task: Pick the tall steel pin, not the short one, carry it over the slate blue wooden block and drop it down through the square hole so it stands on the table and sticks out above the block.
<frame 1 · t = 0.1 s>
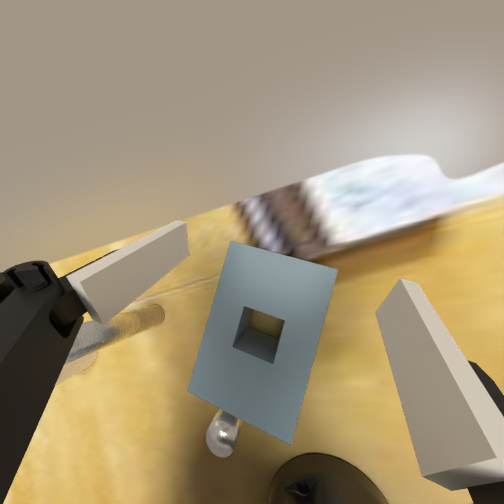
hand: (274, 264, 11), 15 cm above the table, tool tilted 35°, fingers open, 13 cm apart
hole block: (267, 317, 26), on the table
shot glass: (86, 350, 33), on the table
short pin: (236, 401, 26), on the table
tall pin: (155, 315, 30), on the table
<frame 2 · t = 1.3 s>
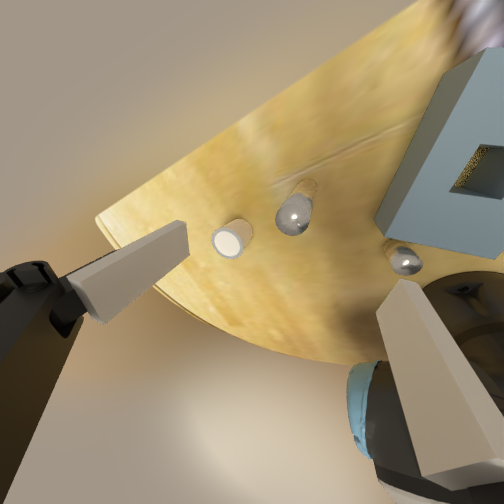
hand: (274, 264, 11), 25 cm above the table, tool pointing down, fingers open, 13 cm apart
hole block: (453, 166, 24), on the table
shot glass: (241, 230, 41), on the table
short pin: (394, 247, 31), on the table
tall pin: (306, 189, 32), on the table
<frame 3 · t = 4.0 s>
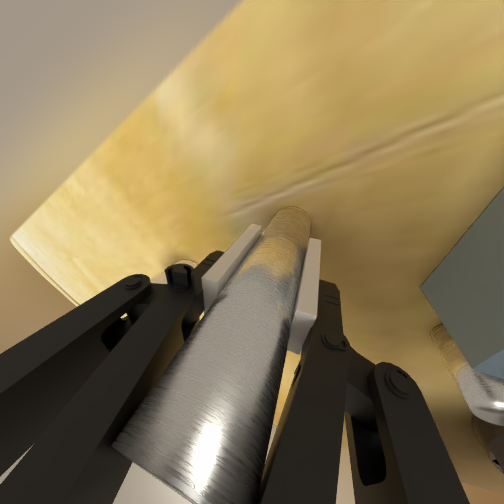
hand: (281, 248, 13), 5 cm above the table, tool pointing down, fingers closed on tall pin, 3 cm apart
short pin: (455, 335, 17), on the table
tall pin: (291, 225, 17), on the table, touching gripper
when the fingers open (10 cm above the table, at t = 10.5 s): tall pin drops 5 cm, resting in hole block.
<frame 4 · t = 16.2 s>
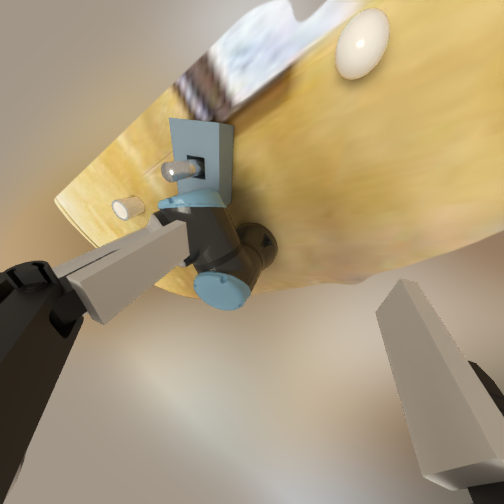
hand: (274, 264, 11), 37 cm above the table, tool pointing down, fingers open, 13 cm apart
hole block: (211, 164, 48), on the table
shot glass: (138, 204, 64), on the table
lightbulb: (353, 67, 31), on the table
tall pin: (211, 164, 48), resting in hole block
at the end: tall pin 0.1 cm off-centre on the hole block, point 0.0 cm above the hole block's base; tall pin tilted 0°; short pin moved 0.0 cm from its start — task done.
